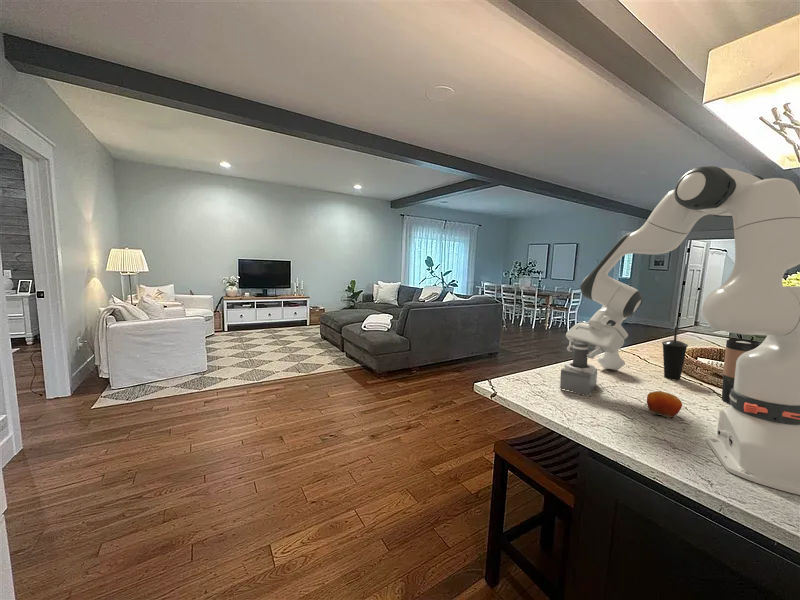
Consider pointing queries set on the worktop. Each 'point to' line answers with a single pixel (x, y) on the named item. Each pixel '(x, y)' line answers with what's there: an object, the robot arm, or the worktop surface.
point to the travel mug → (734, 362)
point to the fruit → (663, 404)
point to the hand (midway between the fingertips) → (578, 353)
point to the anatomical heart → (611, 360)
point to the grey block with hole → (578, 378)
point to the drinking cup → (673, 357)
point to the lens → (580, 355)
